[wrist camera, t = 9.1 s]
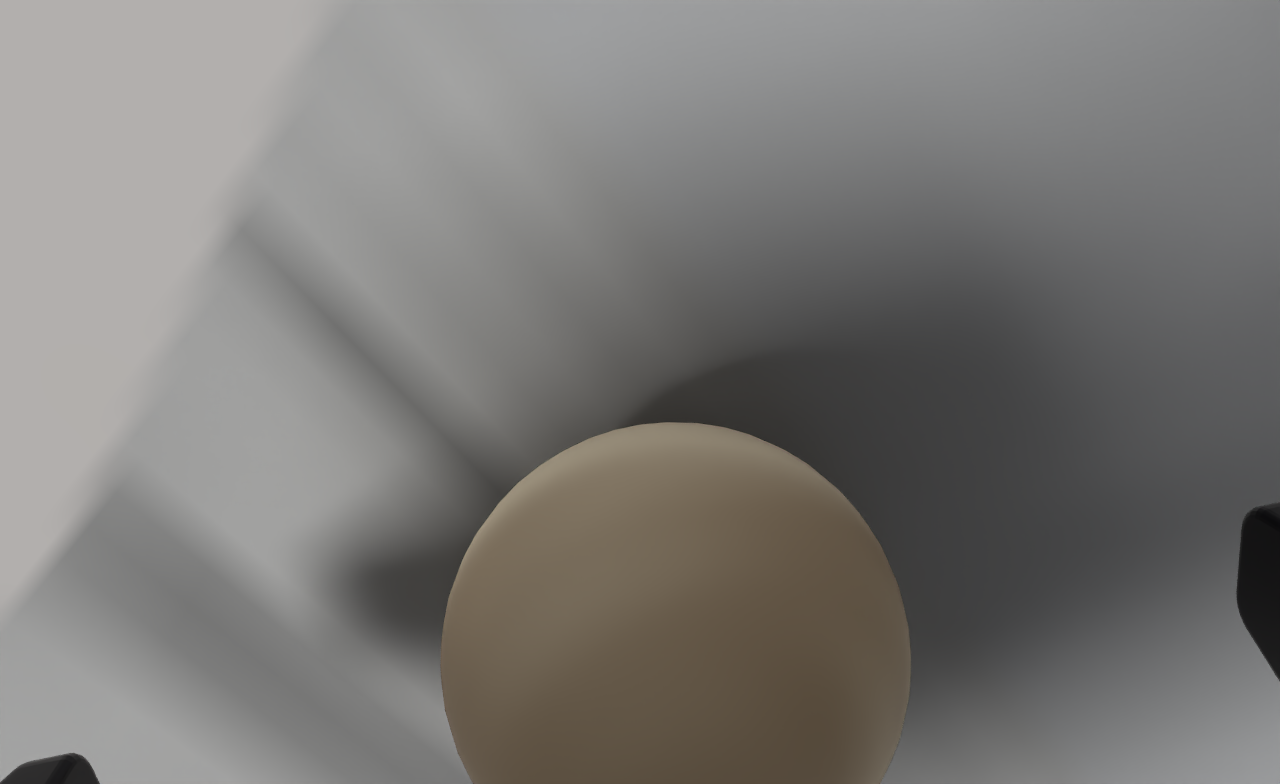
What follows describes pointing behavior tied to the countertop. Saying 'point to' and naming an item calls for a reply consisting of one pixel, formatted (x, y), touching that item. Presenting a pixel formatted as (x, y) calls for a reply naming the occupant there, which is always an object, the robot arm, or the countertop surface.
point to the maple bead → (675, 622)
